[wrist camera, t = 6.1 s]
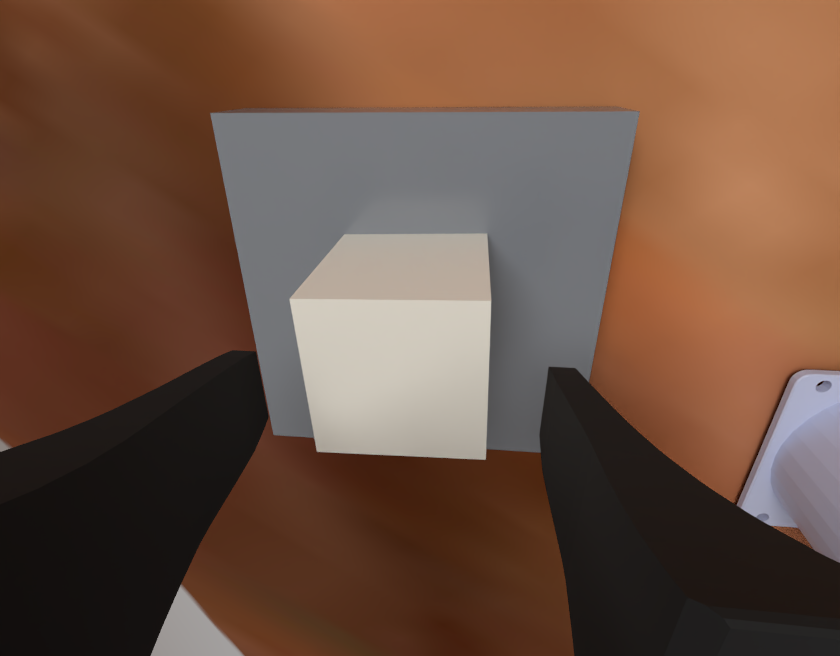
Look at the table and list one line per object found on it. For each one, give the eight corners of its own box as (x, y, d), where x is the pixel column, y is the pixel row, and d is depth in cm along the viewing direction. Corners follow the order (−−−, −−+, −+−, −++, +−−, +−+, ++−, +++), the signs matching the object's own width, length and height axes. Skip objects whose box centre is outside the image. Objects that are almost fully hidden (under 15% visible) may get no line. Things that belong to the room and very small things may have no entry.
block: (487, 233, 15) (491, 300, 10) (483, 358, 17) (485, 459, 12) (344, 234, 15) (289, 299, 11) (358, 355, 17) (317, 451, 13)
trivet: (616, 106, 15) (639, 111, 13) (565, 415, 20) (575, 454, 18) (246, 108, 16) (210, 112, 14) (293, 399, 22) (273, 434, 19)
